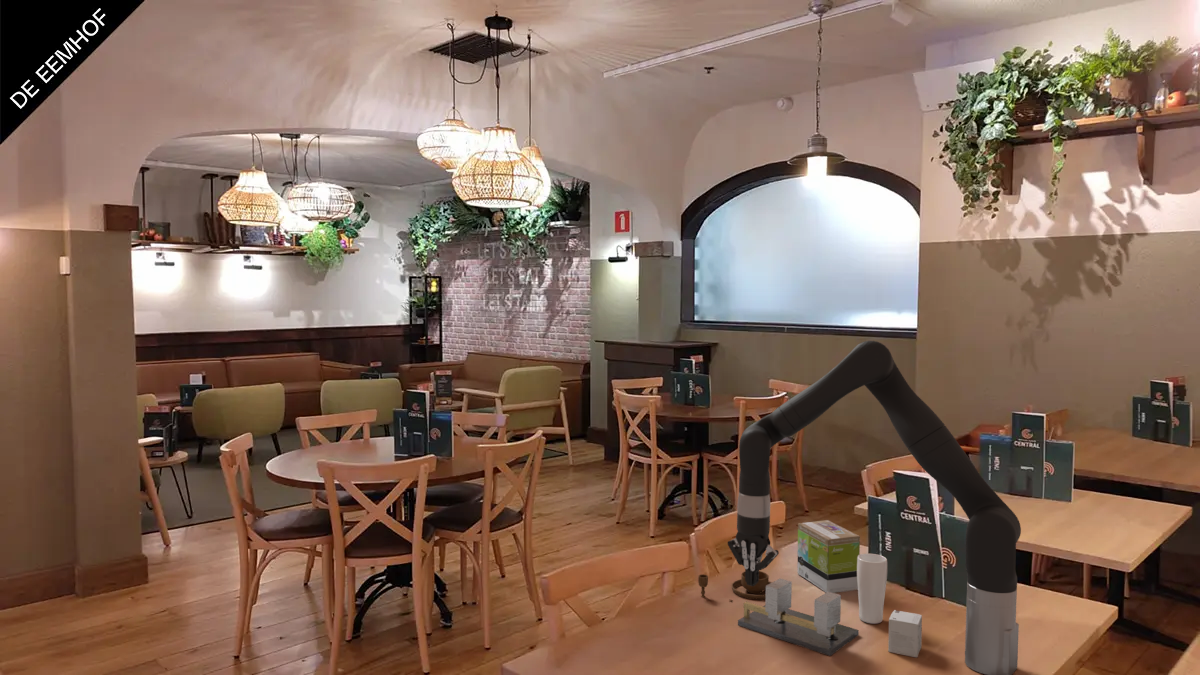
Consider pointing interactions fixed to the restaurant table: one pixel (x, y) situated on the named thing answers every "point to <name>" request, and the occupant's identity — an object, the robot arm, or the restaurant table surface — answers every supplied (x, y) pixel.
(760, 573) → the place setting
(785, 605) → the block
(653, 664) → the restaurant table surface
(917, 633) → the skincare box
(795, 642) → the bolt-hole plate
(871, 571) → the drinking glass
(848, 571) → the tea box
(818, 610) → the beam
